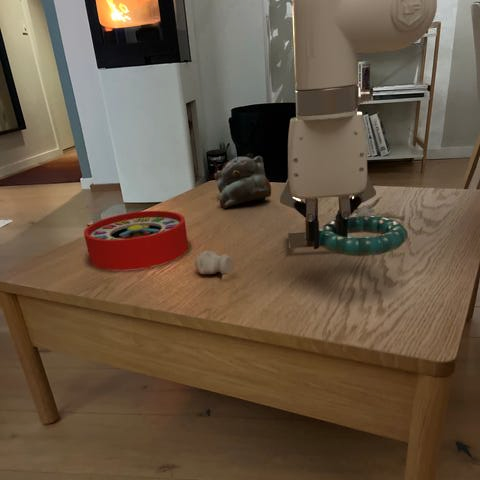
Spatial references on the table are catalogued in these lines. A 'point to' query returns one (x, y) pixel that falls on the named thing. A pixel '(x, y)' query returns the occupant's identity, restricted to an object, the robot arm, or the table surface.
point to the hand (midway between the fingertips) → (327, 243)
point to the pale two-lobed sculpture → (214, 263)
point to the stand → (301, 235)
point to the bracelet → (364, 246)
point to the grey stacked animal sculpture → (242, 181)
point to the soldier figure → (367, 211)
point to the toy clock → (136, 240)
